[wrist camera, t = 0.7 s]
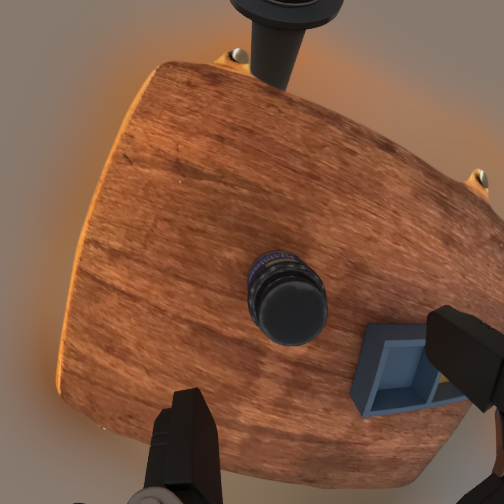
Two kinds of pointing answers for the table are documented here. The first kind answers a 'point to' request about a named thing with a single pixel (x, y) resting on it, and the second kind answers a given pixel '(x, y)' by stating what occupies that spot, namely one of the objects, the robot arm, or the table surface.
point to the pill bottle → (286, 298)
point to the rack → (398, 373)
